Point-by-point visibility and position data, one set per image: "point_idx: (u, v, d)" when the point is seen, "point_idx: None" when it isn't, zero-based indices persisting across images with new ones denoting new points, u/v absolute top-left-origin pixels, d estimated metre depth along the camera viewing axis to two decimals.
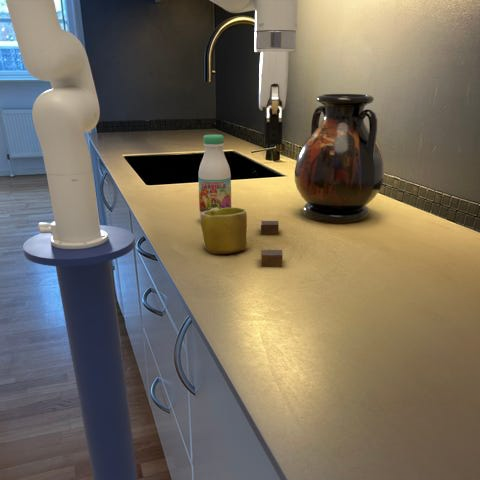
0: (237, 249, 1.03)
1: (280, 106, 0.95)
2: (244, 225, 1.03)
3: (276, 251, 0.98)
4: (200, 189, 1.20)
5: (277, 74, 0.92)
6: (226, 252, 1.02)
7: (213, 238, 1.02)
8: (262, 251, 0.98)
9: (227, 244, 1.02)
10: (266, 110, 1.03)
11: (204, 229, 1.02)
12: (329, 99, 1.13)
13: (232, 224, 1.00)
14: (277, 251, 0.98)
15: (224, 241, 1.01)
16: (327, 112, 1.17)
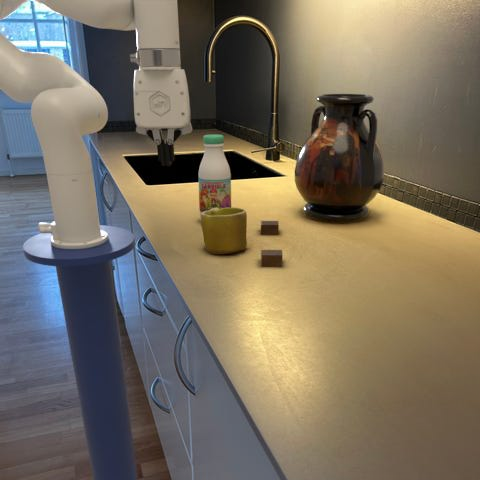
0: (237, 249, 1.03)
1: None
2: (244, 225, 1.03)
3: (276, 251, 0.98)
4: (200, 189, 1.20)
5: None
6: (226, 252, 1.02)
7: (213, 238, 1.02)
8: (262, 251, 0.98)
9: (227, 244, 1.02)
10: (159, 133, 0.97)
11: (204, 229, 1.02)
12: (329, 99, 1.13)
13: (232, 224, 1.00)
14: (277, 251, 0.98)
15: (224, 241, 1.01)
16: (327, 112, 1.17)
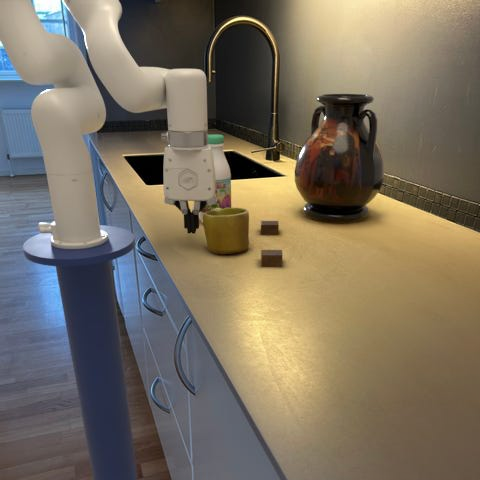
0: (239, 249, 1.03)
1: None
2: (246, 225, 1.03)
3: (276, 251, 0.98)
4: None
5: None
6: (228, 252, 1.02)
7: (215, 238, 1.02)
8: (262, 251, 0.98)
9: (229, 244, 1.02)
10: (186, 204, 1.03)
11: (206, 229, 1.02)
12: (329, 99, 1.13)
13: (234, 224, 1.00)
14: (277, 251, 0.98)
15: (226, 241, 1.01)
16: (327, 112, 1.17)
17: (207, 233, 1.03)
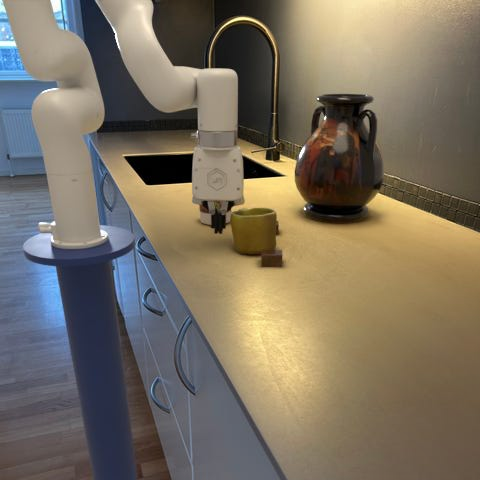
0: (267, 249, 1.03)
1: None
2: (274, 225, 1.02)
3: (276, 251, 0.98)
4: None
5: None
6: (256, 252, 1.02)
7: (243, 238, 1.02)
8: (262, 251, 0.98)
9: (257, 244, 1.02)
10: (214, 204, 1.03)
11: (234, 229, 1.02)
12: (329, 99, 1.13)
13: (263, 224, 1.00)
14: (277, 251, 0.98)
15: (254, 241, 1.01)
16: (327, 112, 1.17)
17: (235, 233, 1.03)
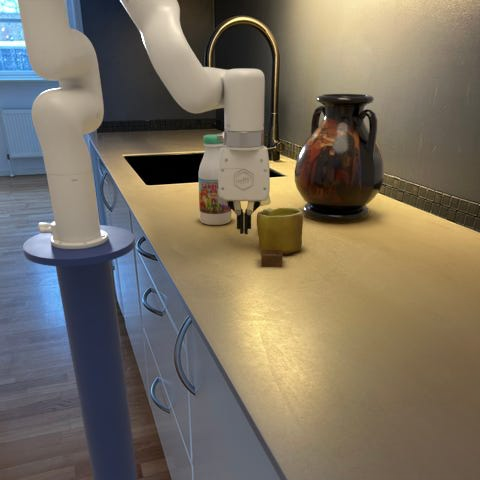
0: (294, 250, 1.03)
1: None
2: (301, 225, 1.02)
3: (276, 251, 0.98)
4: (200, 189, 1.20)
5: None
6: (283, 253, 1.02)
7: (270, 238, 1.01)
8: (262, 251, 0.98)
9: (284, 245, 1.01)
10: (239, 204, 1.03)
11: (261, 229, 1.02)
12: (329, 99, 1.13)
13: (290, 224, 1.00)
14: (277, 251, 0.98)
15: (281, 242, 1.01)
16: (327, 112, 1.17)
17: (261, 233, 1.02)
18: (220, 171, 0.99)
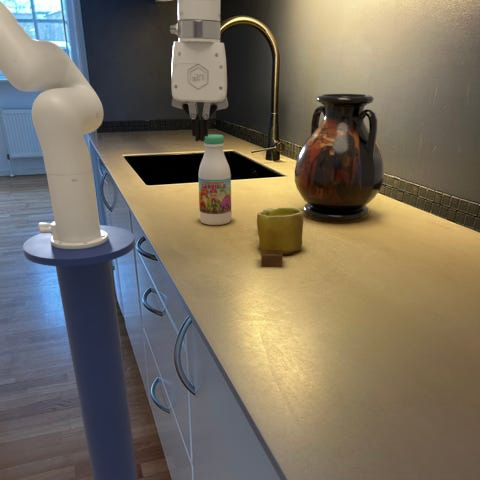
0: (294, 249, 1.03)
1: None
2: (301, 225, 1.02)
3: (276, 251, 0.98)
4: (200, 189, 1.20)
5: None
6: (283, 252, 1.02)
7: (270, 238, 1.01)
8: (262, 251, 0.98)
9: (284, 245, 1.01)
10: (195, 107, 0.96)
11: (261, 229, 1.02)
12: (329, 99, 1.13)
13: (290, 224, 1.00)
14: (277, 251, 0.98)
15: (281, 242, 1.01)
16: (327, 112, 1.17)
17: (262, 233, 1.02)
18: (173, 66, 0.92)
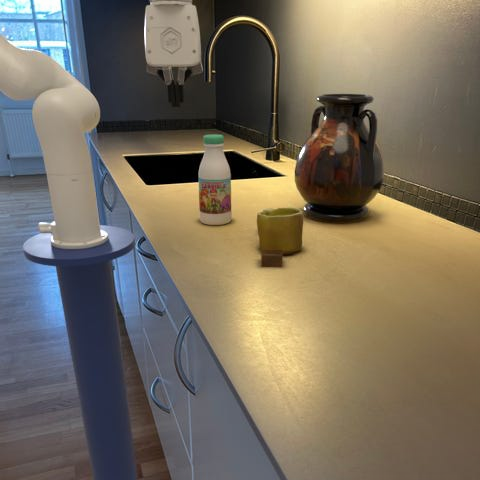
0: (294, 249, 1.03)
1: None
2: (301, 225, 1.02)
3: (276, 251, 0.98)
4: (200, 189, 1.20)
5: None
6: (283, 252, 1.02)
7: (270, 238, 1.01)
8: (262, 251, 0.98)
9: (284, 245, 1.01)
10: (169, 72, 0.97)
11: (261, 229, 1.02)
12: (329, 99, 1.13)
13: (290, 224, 1.00)
14: (277, 251, 0.98)
15: (281, 242, 1.01)
16: (327, 112, 1.17)
17: (262, 233, 1.02)
18: (146, 31, 0.93)
